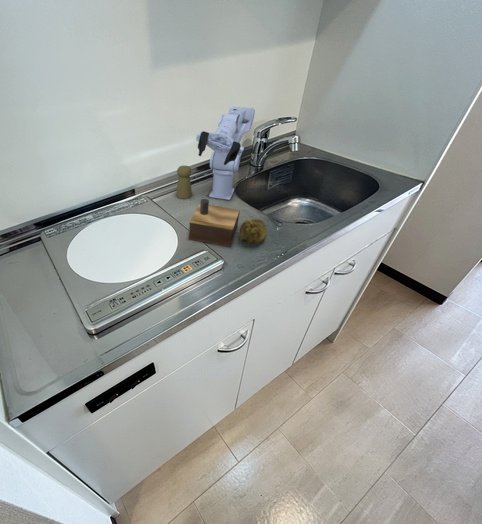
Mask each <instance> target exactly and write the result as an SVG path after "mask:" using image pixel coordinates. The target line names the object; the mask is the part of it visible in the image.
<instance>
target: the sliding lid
mask: <svg viewBox="0 0 482 524" xmlns="http://www.w3.org/2000/svg"><path fill="white" fill-rule="evenodd" d="M209 205H210V201H209V199H208V198H201V200H200V203H199V204H198V206H197V207H196V209H195V211H194V212H193V214H192V216H191V218H190V220H192V221H198V222H204V223H209V224H215V225H221V226H226V227H232V228H234V226H235V223H236V220H237V217H238V215H239V216H240V213H239V211H238V210H239V209H238V210H232V209H233V208H232V209H226V208H227V207H226V208H219V207H220V206H219V207H213V206H214V205H213V206H209Z"/></svg>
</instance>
